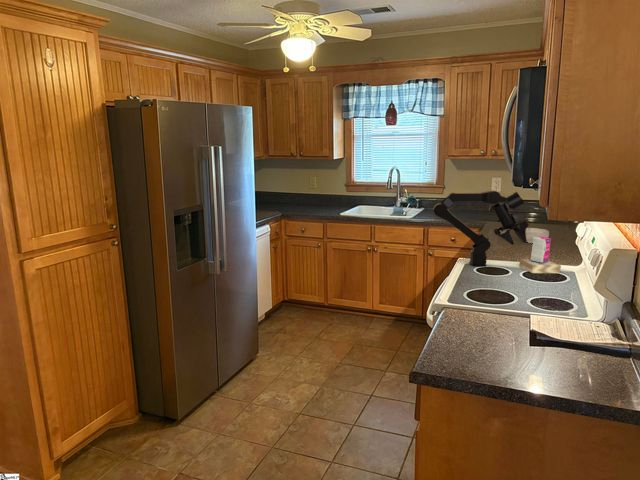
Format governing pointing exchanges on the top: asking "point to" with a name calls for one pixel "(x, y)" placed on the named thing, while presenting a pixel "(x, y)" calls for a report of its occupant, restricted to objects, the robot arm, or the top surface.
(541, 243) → the supplement box
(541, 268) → the block
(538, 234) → the paper bowls
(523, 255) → the top surface
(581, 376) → the top surface
